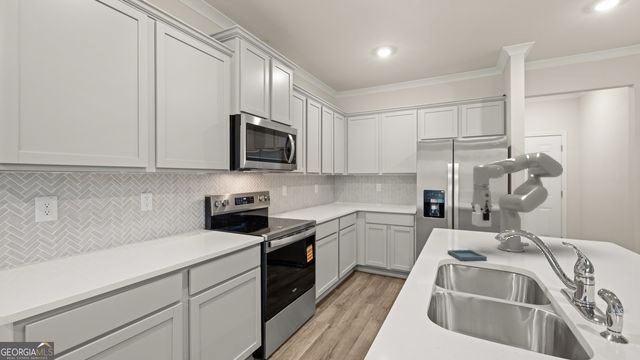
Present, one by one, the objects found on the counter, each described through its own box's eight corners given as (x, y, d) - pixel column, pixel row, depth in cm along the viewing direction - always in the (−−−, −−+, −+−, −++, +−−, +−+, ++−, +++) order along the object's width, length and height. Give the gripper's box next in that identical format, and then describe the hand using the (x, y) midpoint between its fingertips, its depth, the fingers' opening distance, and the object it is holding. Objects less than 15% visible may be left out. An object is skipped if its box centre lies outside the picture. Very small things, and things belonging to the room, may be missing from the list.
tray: (470, 253, 148) (470, 249, 148) (486, 260, 135) (486, 256, 135) (447, 253, 148) (447, 250, 148) (461, 261, 135) (461, 257, 135)
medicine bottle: (484, 224, 154) (484, 203, 154) (491, 226, 147) (491, 204, 147) (471, 224, 155) (471, 203, 155) (477, 226, 148) (477, 204, 148)
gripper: (498, 188, 143) (498, 221, 143) (477, 187, 160) (477, 217, 160) (484, 188, 142) (484, 221, 142) (465, 187, 160) (465, 217, 160)
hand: (481, 219), depth 151 cm, fingers closed on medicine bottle, 7 cm apart
